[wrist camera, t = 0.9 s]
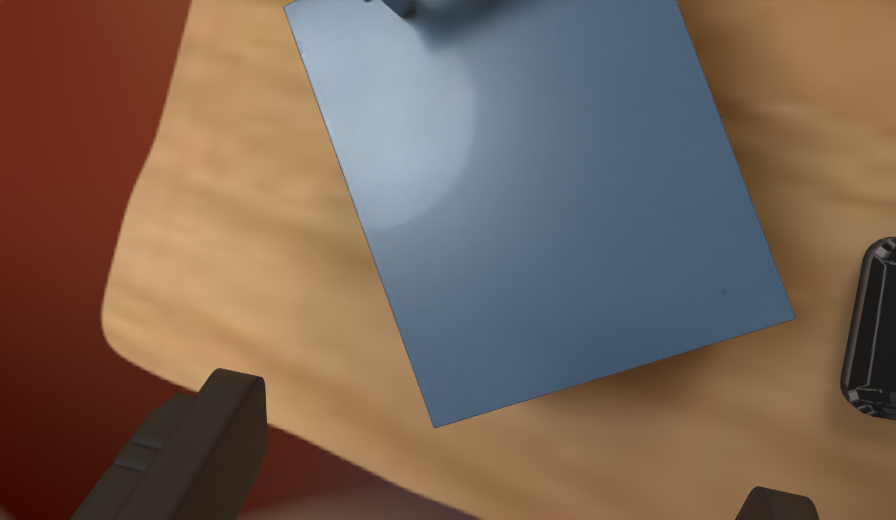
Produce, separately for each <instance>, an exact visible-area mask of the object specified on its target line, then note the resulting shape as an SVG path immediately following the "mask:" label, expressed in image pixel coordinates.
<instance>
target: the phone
mask: <svg viewBox="0 0 896 520" xmlns="http://www.w3.org/2000/svg"><path fill="white" fill-rule="evenodd" d="M841 390H842V393H843V395H844V397H845V398H846V399H847V400H848V402H849V403H851V404H852V405H853V406H854V407H855V408H857V409H858V410H860V411H861V412H863V413H864V414H867V415H870V416H874V417H879V418H885V419H890V420H896V237H887V238H884V239H880V240H878V241H877V242H875V243H874V244H872V245H871V246H870V247H869V248H868V250H867V251H866V253H865V255H864V258H863V262H862V267H861V273H860V278H859V284H858V289H857V294H856V300H855V305H854V310H853V316H852V321H851V326H850V332H849V337H848V342H847V348H846V353H845V358H844V364H843V369H842V374H841Z"/></svg>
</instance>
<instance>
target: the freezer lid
mask: <svg viewBox="0 0 896 520" xmlns="http://www.w3.org/2000/svg"><path fill="white" fill-rule="evenodd" d="M283 8H284V11H285V14H286V17H287V19H288V22H289V25H290V28H291V30H292V33H293V36H294V39H295V42H296V44H297V47H298V50H299V53H300V56H301V58H302V61H303V64H304V67H305V70H306V72H307V75H308V78H309V81H310V84H311V86H312V89H313V92H314V95H315V97H316V100H317V103H318V106H319V109H320V111H321V114H322V117H323V120H324V123H325V125H326V128H327V131H328V134H329V137H330V139H331V142H332V145H333V148H334V150H335V153H336V156H337V159H338V162H339V164H340V167H341V170H342V173H343V176H344V178H345V181H346V184H347V187H348V190H349V192H350V195H351V198H352V201H353V204H354V206H355V209H356V212H357V215H358V217H359V220H360V223H361V226H362V229H363V231H364V234H365V237H366V240H367V243H368V245H369V248H370V251H371V254H372V257H373V259H374V262H375V265H376V268H377V271H378V273H379V276H380V279H381V282H382V284H383V287H384V290H385V293H386V296H387V298H388V301H389V304H390V307H391V310H392V312H393V315H394V318H395V321H396V324H397V326H398V329H399V332H400V335H401V337H402V340H403V343H404V346H405V349H406V351H407V354H408V357H409V360H410V363H411V365H412V368H413V371H414V374H415V377H416V379H417V382H418V385H419V388H420V391H421V393H422V396H423V399H424V402H425V404H426V407H427V410H428V413H429V416H430V418H431V421H432V424H433V427H434V428H438V427H441V426H445V425H448V424H451V423H454V422H458V421H461V420H464V419H468V418H471V417H474V416H477V415H481V414H484V413H487V412H491V411H494V410H497V409H500V408H504V407H507V406H510V405H514V404H517V403H520V402H524V401H527V400H530V399H533V398H537V397H540V396H543V395H547V394H550V393H553V392H556V391H560V390H563V389H566V388H570V387H573V386H576V385H580V384H583V383H586V382H589V381H593V380H596V379H599V378H603V377H606V376H609V375H612V374H616V373H619V372H622V371H626V370H629V369H632V368H636V367H639V366H642V365H645V364H649V363H652V362H655V361H659V360H662V359H665V358H668V357H672V356H675V355H678V354H682V353H685V352H688V351H692V350H695V349H698V348H701V347H705V346H708V345H711V344H715V343H718V342H721V341H724V340H728V339H731V338H734V337H738V336H741V335H744V334H748V333H751V332H754V331H757V330H761V329H764V328H767V327H771V326H774V325H777V324H780V323H784V322H787V321H790V320H794V319H795V314H794V312H793V309H792V306H791V304H790V301H789V298H788V296H787V293H786V290H785V288H784V285H783V282H782V280H781V277H780V274H779V272H778V269H777V266H776V264H775V261H774V258H773V256H772V253H771V250H770V248H769V245H768V242H767V240H766V237H765V234H764V232H763V229H762V227H761V224H760V221H759V219H758V216H757V213H756V211H755V208H754V205H753V203H752V200H751V197H750V195H749V192H748V189H747V187H746V184H745V181H744V179H743V176H742V173H741V171H740V168H739V165H738V163H737V160H736V157H735V155H734V152H733V149H732V147H731V144H730V141H729V139H728V136H727V133H726V131H725V128H724V125H723V123H722V120H721V117H720V115H719V112H718V109H717V107H716V104H715V101H714V99H713V96H712V93H711V91H710V88H709V85H708V83H707V80H706V77H705V75H704V72H703V69H702V67H701V64H700V61H699V59H698V56H697V54H696V51H695V48H694V46H693V43H692V40H691V38H690V35H689V32H688V30H687V27H686V24H685V22H684V19H683V16H682V14H681V11H680V8H679V6H678V3H677V0H295V1H294V2H292V3H290V4H288V5H286V6H284V7H283Z"/></svg>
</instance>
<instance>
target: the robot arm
mask: <svg viewBox="0 0 896 520" xmlns="http://www.w3.org/2000/svg"><path fill="white" fill-rule="evenodd" d="M267 440H268V437H267V414H266V393H265V382H264V379H263V378H262V377H259V376H254V375H250V374H245V373H240V372H236V371H231V370H227V369H222V368H218V369H216V370H215V371H214V372H213V373H212V374H211V375H210V376H209V378H208V379H207V381H206V382H205V384H204V385H203V387H202V388H201V389H200V391H199V392H198V394H197V395H196V396H193V395H188V394H183V393H177V394H176V395H174V396H173V397H171V398H170V399H169V400H167V401H166V402H164V403H163V404H161V405H160V406H158V407H157V408H156V409H154V410H153V411H151V412H150V413H149V414H148V416H147V417H146V419H145V420H144V421H143V422H142V424H141V425H140V426H139V428H138V429H137V430H136V432H135V433H134V435H133V436H132V437H131V438H130V442H129V444H126V445H125V446H124V448H123V449H122V450H121V452H120V453H119V454H118V456H117V457H116V458H115V460H114V464H113V466H110V467H109V468H108V469H107V470H106V472H105V473H104V474H103V476H102V477H101V478H100V480H99V481H98V482H97V484H96V485H95V487H94V488H93V489H92V491H91V492H90V493H89V494H88V496H87V497H86V498H85V500H84V501H83V502H82V504H81V505H80V506H79V508H78V509H77V510H76V512H75V513H74V515H73V516H72V517H71V519H70V520H236V518H237V516H238V514H239V512H240V510H241V508H242V506H243V504H244V502H245V500H246V498H247V496H248V494H249V492H250V490H251V488H252V487H253V485H254V483H255V481H256V479H257V476H258V475H259V472H260V470H261V467H262V464H263V461H264V458H265V454H266V449H267ZM735 520H819V517H818V514H817V511H816V508H815V506H814V504H813V502H812V501H811V500H810V499H809V498H808V497H805V496H801V495H796V494H791V493H787V492H782V491H777V490H773V489H768V488H764V487H759V486H758V487H755V488H753V490H752V491H751V492H750V494H749V495H748V497H747V499H746V501H745V503H744V504H743V506H742V508H741V510H740V512H739V513H738V515H737V517H736V519H735Z"/></svg>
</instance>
